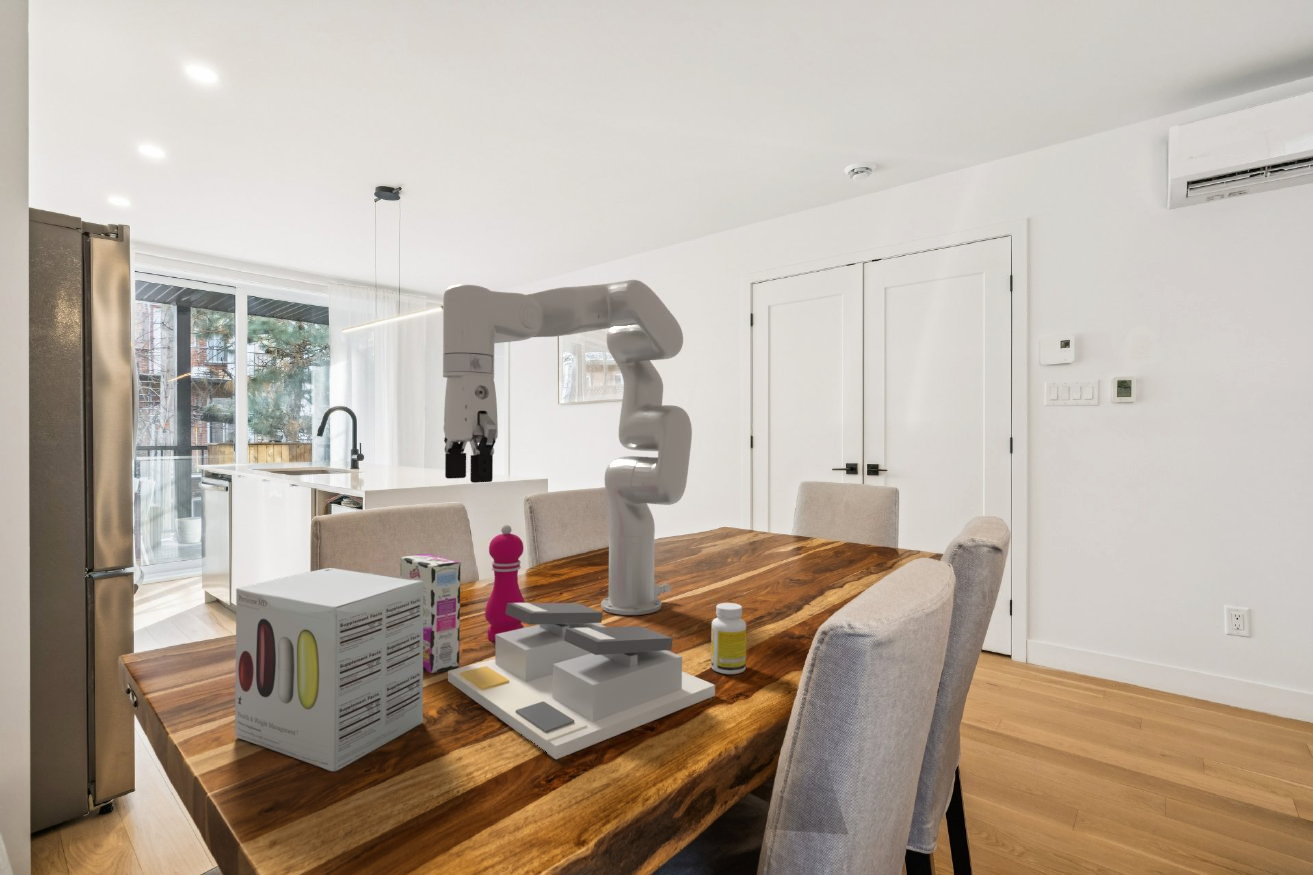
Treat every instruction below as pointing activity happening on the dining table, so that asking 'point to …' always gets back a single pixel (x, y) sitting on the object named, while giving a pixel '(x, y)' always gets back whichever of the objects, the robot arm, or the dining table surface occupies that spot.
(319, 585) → the supplement box
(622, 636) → the plain switch
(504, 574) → the pepper mill
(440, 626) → the candy bar box
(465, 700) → the dining table surface
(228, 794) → the dining table surface
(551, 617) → the marked switch
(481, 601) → the dining table surface
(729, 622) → the supplement bottle
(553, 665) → the switch unit
